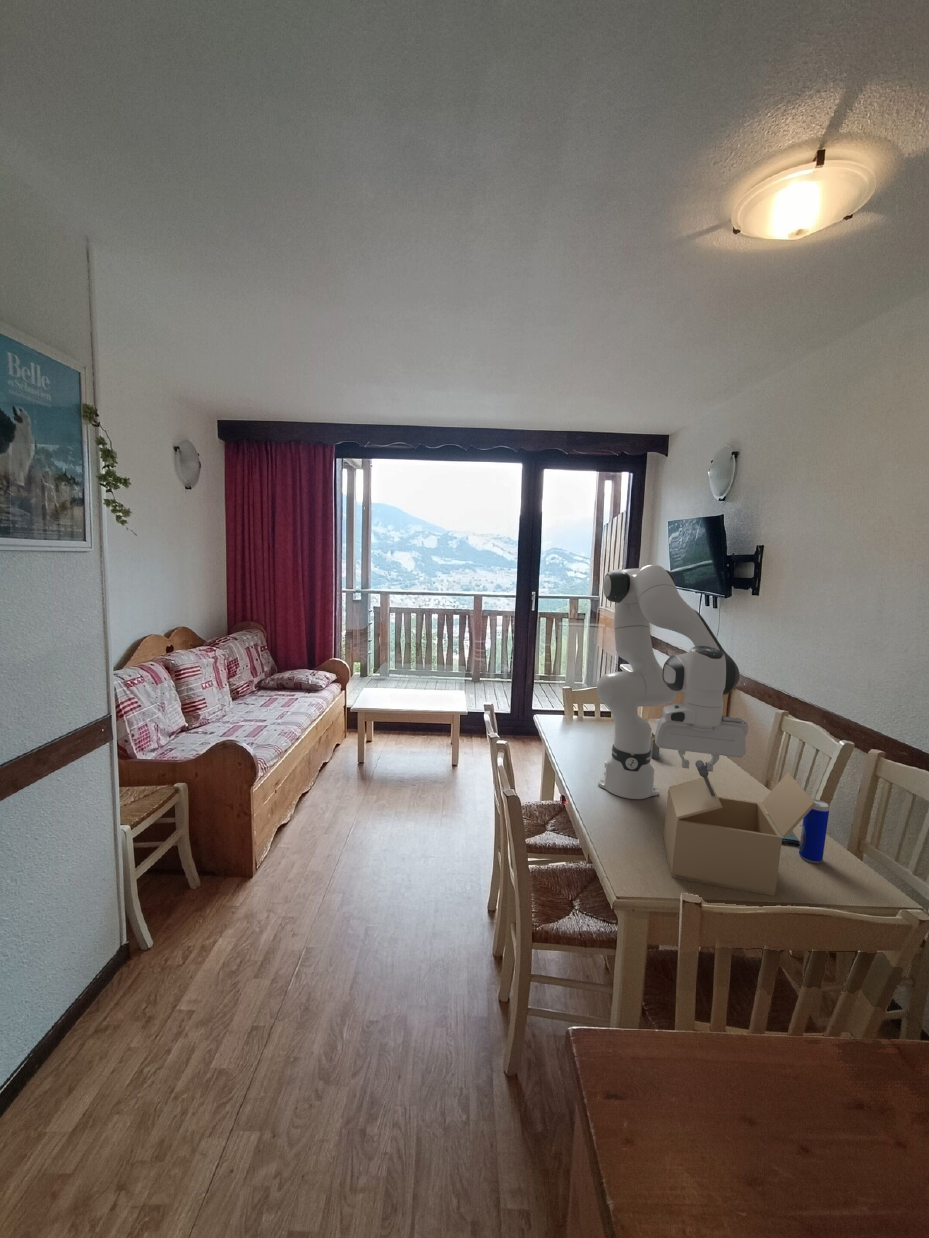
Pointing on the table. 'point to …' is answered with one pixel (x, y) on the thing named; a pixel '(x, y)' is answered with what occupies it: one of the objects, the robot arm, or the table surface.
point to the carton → (724, 846)
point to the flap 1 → (695, 795)
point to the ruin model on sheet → (654, 748)
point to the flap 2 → (787, 804)
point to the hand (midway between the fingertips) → (696, 769)
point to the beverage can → (814, 832)
